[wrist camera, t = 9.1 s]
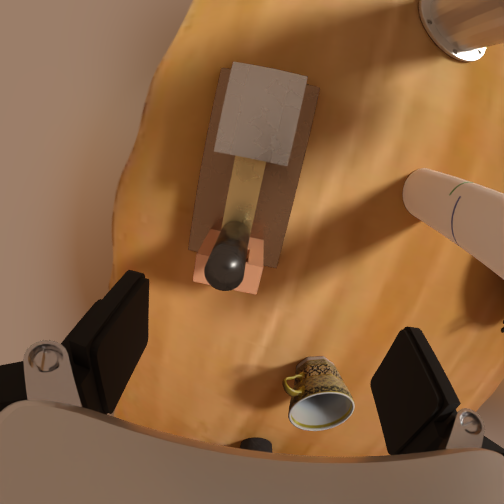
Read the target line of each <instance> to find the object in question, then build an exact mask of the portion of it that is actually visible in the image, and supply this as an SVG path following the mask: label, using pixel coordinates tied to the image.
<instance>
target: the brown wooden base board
mask: <svg viewBox="0 0 504 504" xmlns="http://www.w3.org/2000/svg"><path fill="white" fill-rule="evenodd" d="M307 78H308V77H307V76H303V75H299V74H295V73H291V72H287V71H282V70H277V69H273V68H268V67H262V66H257V65H251V64H245V63H239V62H233V65H232V69H228V68H221V73H220V77H219V81H218V86H217V90H216V95H215V99H214V104H213V109H212V113H211V118H210V123H209V128H208V133H207V138H206V143H205V149H204V154H203V159H202V165H201V170H200V176H199V182H198V188H197V194H196V200H195V207H194V213H193V220H192V227H191V234H190V241H189V248H188V250H192V251H196V252H198V250H199V248H200V247H201V245H202V243H203V241H204V239H205V238H206V236H207V234H208V232H209V231H210V229H213V230H218V231H221V228H222V222H223V217H224V212H225V206H226V201H227V196H228V191H229V185H230V180H231V175H232V170H233V165H234V160H235V155H236V156H241V157H246V158H251V159H256V160H260V161H265V162H266V165H265V170H264V174H263V179H262V183H261V188H260V192H259V197H258V201H257V206H256V211H255V215H254V220H253V224H252V229H251V233H250V237H251V238H256V239H261V240H264V254H263V266H268V267H273V268H276V267H277V264H278V260H279V256H280V252H281V248H282V245H283V241H284V237H285V233H286V229H287V225H288V221H289V217H290V213H291V209H292V205H293V201H294V197H295V193H296V189H297V185H298V181H299V177H300V173H301V169H302V164H303V160H304V156H305V152H306V147H307V143H308V139H309V135H310V130H311V126H312V122H313V117H314V113H315V108H316V104H317V99H318V95H319V90H320V88H319V87H316V86H312V85H308V84H306V83H307Z"/></svg>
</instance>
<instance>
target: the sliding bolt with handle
mask: <svg viewBox="0 0 504 504" xmlns="http://www.w3.org/2000/svg"><path fill="white" fill-rule="evenodd" d="M265 165H266V162H265V161H260V160H256V159H251V158H246V157H241V156H236V155H235V160H234V165H233V170H232V175H231V180H230V185H229V191H228V196H227V201H226V206H225V212H224V217H223V222H222V228H221V232H220V234H219V236H218V238H217V240H216V243H215V245H214V247H213V249H212V252H211V254H210V256H209V258H208V261H207V263H206V265H205V269H204V275H205V278H206V280H207V282H208V283H209V284H210V285H211V286H212V287H214V288H215V289H218V290H222V291H229V290H233V289H235V288H237V287H238V286H239V285H240V284H241V282H242V281H243V278H244V272H245V265H246V258H247V252H248V245H249V238H250V233H251V229H252V224H253V220H254V215H255V211H256V206H257V201H258V197H259V192H260V188H261V183H262V179H263V174H264V170H265Z"/></svg>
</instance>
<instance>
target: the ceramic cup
mask: <svg viewBox="0 0 504 504" xmlns="http://www.w3.org/2000/svg"><path fill="white" fill-rule="evenodd" d="M292 379H295V382H294V388H293V389H292V388H290V387H289V386H288V385H287V382H286V380H292ZM283 387H284V390H285V391H286V393H287V394H289V395H290V396H291V401H290V406H289V414H288V417H289V420H290V422H291V423H292V424H293V425H294V426H295V427H297V428H300V429H303V430H308V431H320V430H326V429H330V428H333V427H335V426H338V425H340V424H341V423H343V422H344V421H346V420H347V419H348V418H349V417H350V416H351V414H352V413H353V411H354V401H353V399H352V396H351V394H350V392H349V390H348V388H347V387H346V385H345V384H344V382H343V380H342V378H341V376H340V374H339V373H338V371H337V369H336V367H335V365H334V364H333V363H332V362H331V361H329V360H328V359H326V358H325V357H323V356H317V357H307V358H306V359H304V360H303V361H302V362H300V363H299V364H298V365H297V367H296V375H295V376H292V377H286V378H285V379H284V380H283Z"/></svg>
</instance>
